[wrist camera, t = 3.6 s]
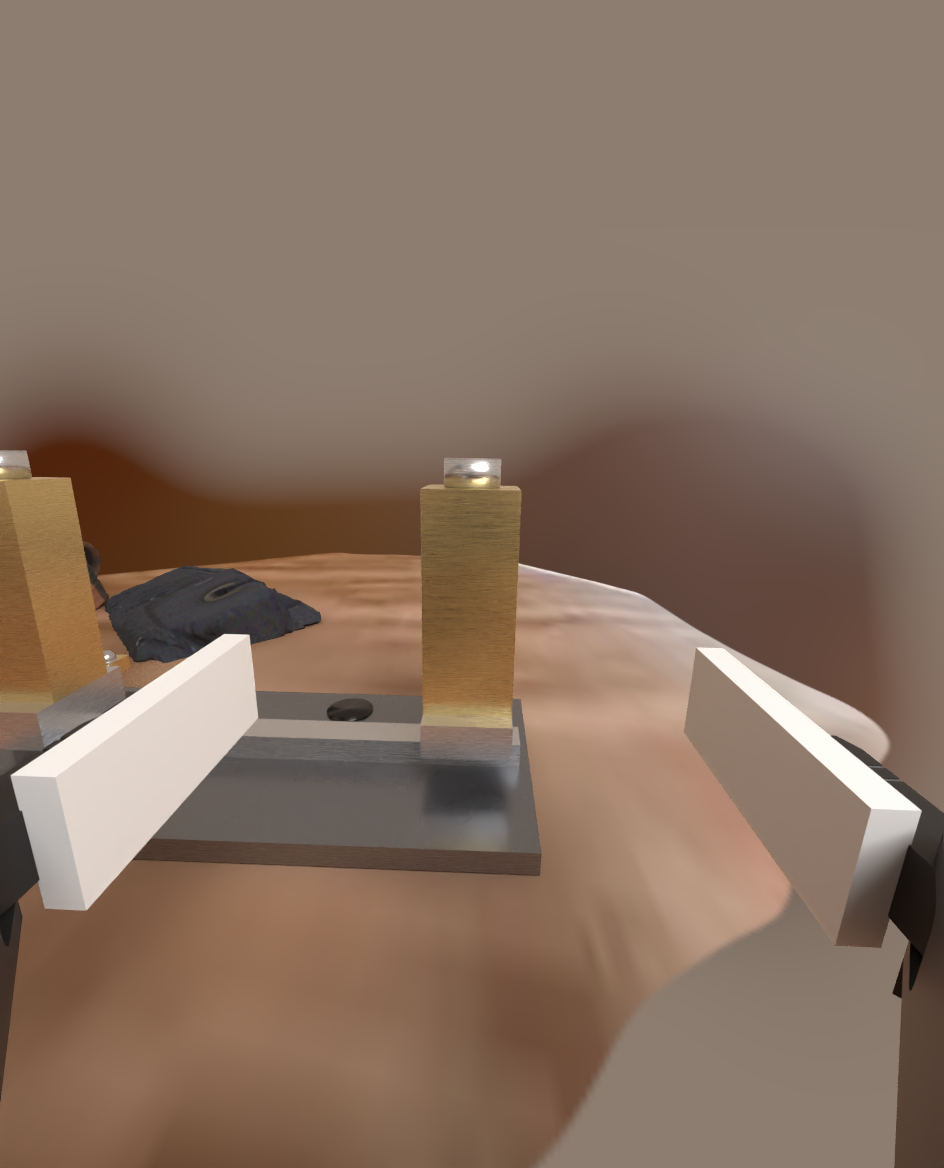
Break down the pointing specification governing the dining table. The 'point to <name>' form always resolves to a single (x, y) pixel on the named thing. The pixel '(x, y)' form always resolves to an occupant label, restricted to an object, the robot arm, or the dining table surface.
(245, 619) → the dark folded cloth
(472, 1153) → the dining table surface
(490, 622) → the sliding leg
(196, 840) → the bolt plate
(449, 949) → the dining table surface
